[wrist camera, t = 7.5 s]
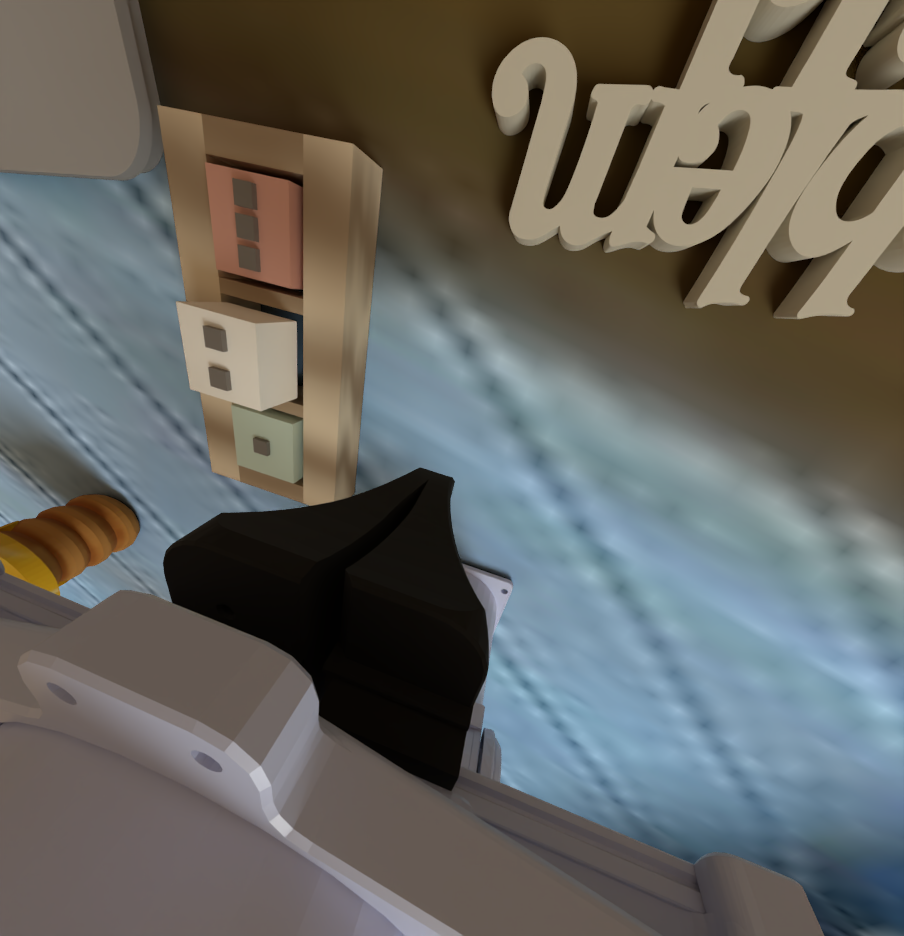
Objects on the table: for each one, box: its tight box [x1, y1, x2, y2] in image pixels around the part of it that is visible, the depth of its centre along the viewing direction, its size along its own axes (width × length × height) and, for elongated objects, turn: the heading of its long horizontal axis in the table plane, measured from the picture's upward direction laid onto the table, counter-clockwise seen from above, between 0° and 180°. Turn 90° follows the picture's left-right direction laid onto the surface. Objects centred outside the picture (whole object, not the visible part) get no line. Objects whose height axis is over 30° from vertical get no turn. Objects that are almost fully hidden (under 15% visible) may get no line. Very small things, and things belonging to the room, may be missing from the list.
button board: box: [157, 105, 383, 506], centre depth 21 cm, size 20×10×3 cm, turn 167°
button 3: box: [205, 162, 303, 289], centre depth 18 cm, size 4×4×3 cm
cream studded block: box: [176, 301, 297, 411], centre depth 18 cm, size 4×4×3 cm
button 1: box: [231, 404, 303, 484], centre depth 23 cm, size 4×4×3 cm
